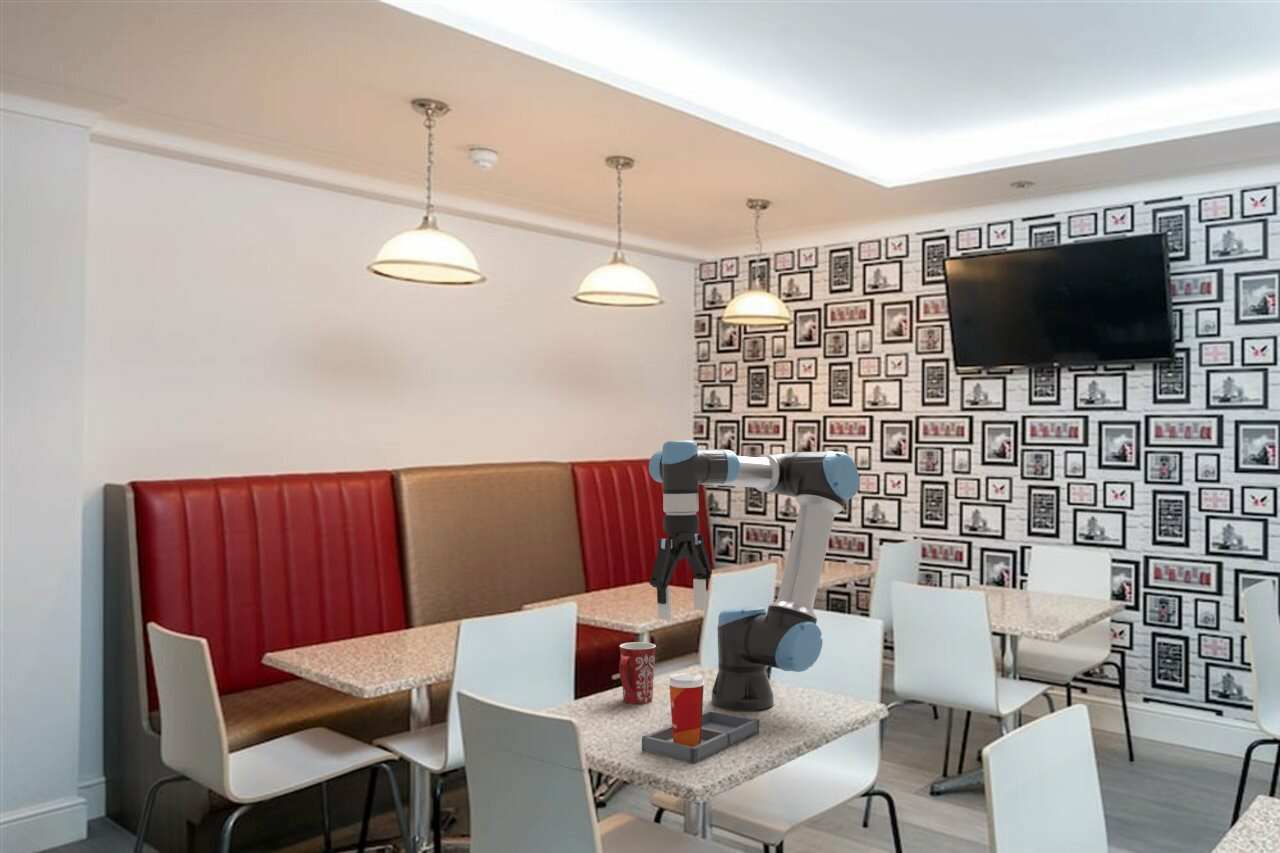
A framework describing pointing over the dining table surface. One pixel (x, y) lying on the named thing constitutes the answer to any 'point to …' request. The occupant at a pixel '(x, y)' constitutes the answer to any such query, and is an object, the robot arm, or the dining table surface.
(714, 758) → the dining table surface
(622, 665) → the mug
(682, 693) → the paper cup
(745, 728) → the cup carrier
